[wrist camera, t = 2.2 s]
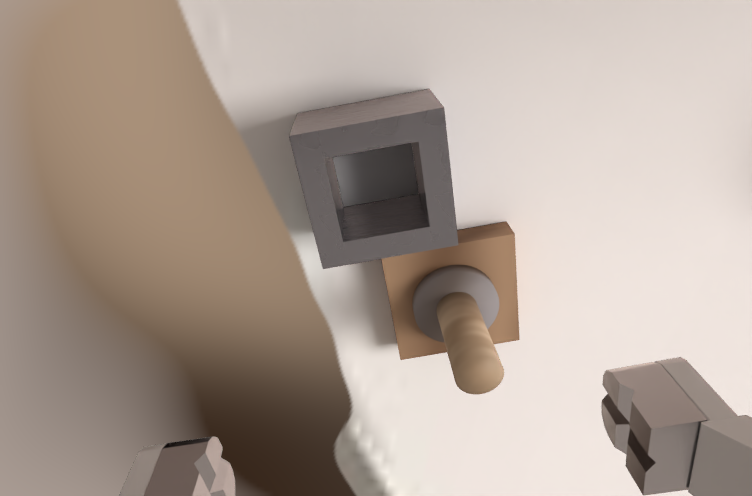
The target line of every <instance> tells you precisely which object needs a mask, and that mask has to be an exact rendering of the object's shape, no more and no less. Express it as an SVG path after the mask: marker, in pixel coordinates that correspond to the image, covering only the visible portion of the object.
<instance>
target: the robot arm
mask: <svg viewBox="0 0 752 496" xmlns="http://www.w3.org/2000/svg"><path fill="white" fill-rule="evenodd" d="M603 386H604V388H605V389H606V391H607V393H608V394H607V395H606V396H605V398H604V399H603V400H602V417H603V422H604V426H605V429H606V431H607V434H608V436H609V438H610V440H611V441H612V443H613V445H614V447H615V448H617V449H619V450H620V451H622V452H624V453H625V454H627V456H626V467H627V469H628V471H629V472H630V474H631V476H632V477H633V479H634V481H635V482H636V484H637V486H638V487H639V489H640V491H641V493H642V494H643V495H650V494H658V493H665V492H673V491H680V490H688V489H689V490H688V492H689V493H690V494H692V495H693V496H752V418H751V417H749V416H747V415H742V416H738V415H737V414H736V413H735V412H734V411H733V410H732V409H731V408H730V407H729V406H728V405H727V404H726V402H725V401H724V400H723V399H722V398H721V397H720V396H719V395H718V394H717V393H716V392H715V391H714V390H713V388H712V387H711V386H710V385H709V384H708V383H707V382H706V381H705V380H704V379H703V378H702V377H701V375H700V374H699V373H698V372H697V371H696V370H695V369H694V368H693V367H692V366H691V365H690V364H689V363H688V361H687V360H685V359H683V358H681V357H678V358H672V359H666V360H661V361H655V362H649V363H644V364H638V365H633V366H627V367H621V368H616V369H610V370H606V371H605V373H604V375H603ZM222 449H223V448H222V446H221V444H220V442H219V440H218V438H217V437H207V438H200V439H193V440H186V441H179V442H172V443H167V444H161V445H154V446H147V447H143V448H142V450H140V451H139V453H138V454H137V456H136V458H135V461H134V463H133V465H132V467H131V470H130V472H129V474H128V476H127V479H126V481H125V483H124V486H123V488H122V490H121V492H120V494H119V496H235V479H234V474H233V470H232V468H231V466H230V463H229V462H227V461H225V460H224V459H222V458H220V457H221V453H222Z"/></svg>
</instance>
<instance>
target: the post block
mask: <svg viewBox="0 0 752 496" xmlns="http://www.w3.org/2000/svg"><path fill="white" fill-rule="evenodd" d="M457 236H458V245H457V246H451V247H446V248H440V249H434V250H428V251H423V252H417V253H411V254H406V255H400V256H394V257H389V258H383V259H382V265H383V270H384V275H385V280H386V286H387V291H388V296H389V301H390V307H391V312H392V317H393V323H394V328H395V333H396V338H397V344H398V349H399V354H400V359H401V360H403V359H409V358H415V357H421V356H427V355H433V354H439V353H445V352H447V353H448V356H449V360H450V364H451V367H452V371H453V375H454V378H455V382H456V384H457V386H458V387H459V388H460V389H461V390H462V391H464V392H466V393H469V394H483V393H486V392H489V391H491V390H493V389H494V388H496V387H497V386H498V385H499V384H500V383H501V381H502V379H503V376H504V369H503V366H502V364H501V361H500V359H499V357H498V354H497V352H496V349H495V347H494V344H498V343H504V342H510V341H516V340H519V322H518V300H517V278H516V256H515V234H514V232H513V231H512V229H511V228H510V226H509V225H508V223H507V222H501V223H496V224H490V225H484V226H479V227H473V228H467V229H462V230H457Z"/></svg>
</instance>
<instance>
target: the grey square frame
mask: <svg viewBox="0 0 752 496" xmlns="http://www.w3.org/2000/svg"><path fill="white" fill-rule="evenodd" d="M289 138H290V142H291V146H292V150H293V154H294V158H295V162H296V165H297V169H298V173H299V177H300V181H301V185H302V189H303V193H304V197H305V201H306V205H307V209H308V212H309V216H310V220H311V224H312V228H313V232H314V236H315V240H316V244H317V248H318V252H319V255H320V259H321V263H322V267H323V269H326V268H332V267H337V266H343V265H349V264H354V263H360V262H366V261H371V260H377V259H383V258H389V257H394V256H400V255H406V254H411V253H417V252H423V251H428V250H434V249H440V248H446V247H451V246H457V245H458V236H457V226H456V217H455V207H454V198H453V188H452V179H451V169H450V160H449V150H448V141H447V131H446V122H445V112H444V107H443V105H442V104H441V103H440V102H439V100H438V99H437V98H436V97H435V95H434V94H433V93H432V91H431V90H430V89H426V90H420V91H415V92H409V93H404V94H399V95H393V96H388V97H383V98H377V99H372V100H366V101H361V102H356V103H350V104H345V105H339V106H334V107H329V108H323V109H318V110H313V111H307V112H302V113H297V115H296V118H295V121H294V123H293V126H292V129H291V132H290V134H289ZM407 143H412V151H413V158H414V165H415V172H416V179H417V186H418V193H419V194H416V195H410V196H404V197H399V198H393V199H388V200H382V201H377V202H371V203H365V204H360V205H354V206H349V207H343V203H342V199H341V194H340V190H339V185H338V180H337V176H336V171H335V167H334V162H333V158H332V157H336V156H341V155H347V154H352V153H358V152H363V151H369V150H374V149H380V148H385V147H391V146H396V145H402V144H407Z"/></svg>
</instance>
